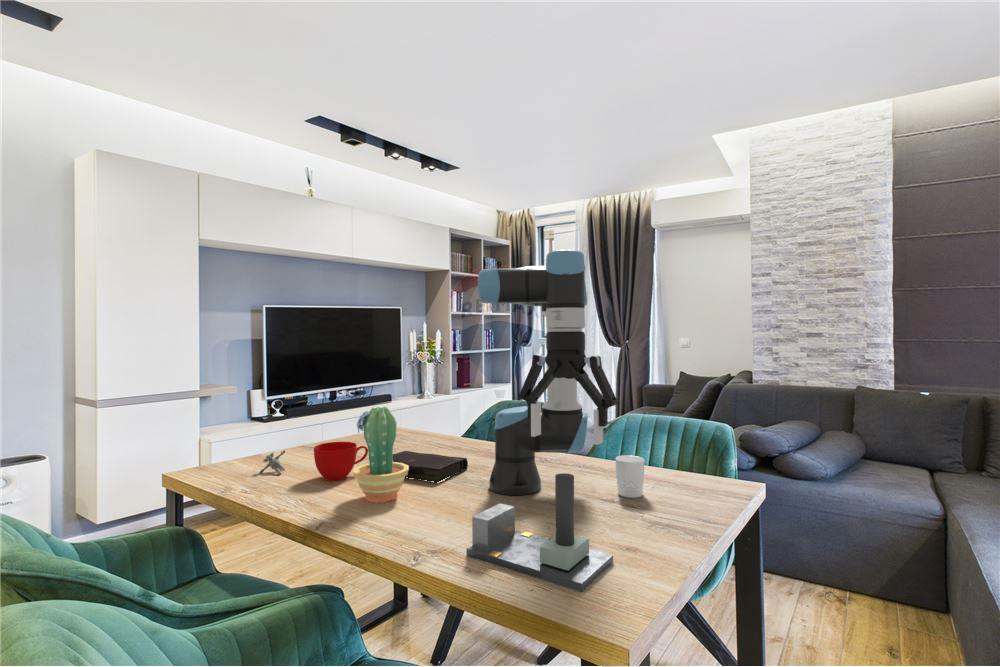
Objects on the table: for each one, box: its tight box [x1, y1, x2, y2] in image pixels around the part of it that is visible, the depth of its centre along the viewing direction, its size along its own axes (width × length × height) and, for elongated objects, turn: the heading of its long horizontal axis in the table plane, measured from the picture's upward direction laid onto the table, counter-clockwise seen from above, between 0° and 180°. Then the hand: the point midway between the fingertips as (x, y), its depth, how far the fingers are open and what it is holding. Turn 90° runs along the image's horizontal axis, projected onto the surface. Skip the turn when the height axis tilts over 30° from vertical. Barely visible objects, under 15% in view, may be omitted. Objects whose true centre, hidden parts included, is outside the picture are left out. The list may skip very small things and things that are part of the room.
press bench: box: [465, 503, 614, 593], centre depth 105 cm, size 26×14×8 cm, turn 55°
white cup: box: [615, 454, 645, 499], centre depth 146 cm, size 8×8×10 cm
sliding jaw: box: [540, 472, 590, 570], centre depth 101 cm, size 6×9×16 cm, turn 145°
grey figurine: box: [259, 450, 286, 476], centre depth 170 cm, size 10×6×9 cm
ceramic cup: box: [313, 441, 369, 481], centre depth 165 cm, size 13×17×10 cm
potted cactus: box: [352, 406, 409, 504], centre depth 144 cm, size 15×15×25 cm
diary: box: [393, 450, 469, 484], centre depth 170 cm, size 19×25×5 cm
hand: (566, 439), depth 101 cm, fingers open, 13 cm apart
